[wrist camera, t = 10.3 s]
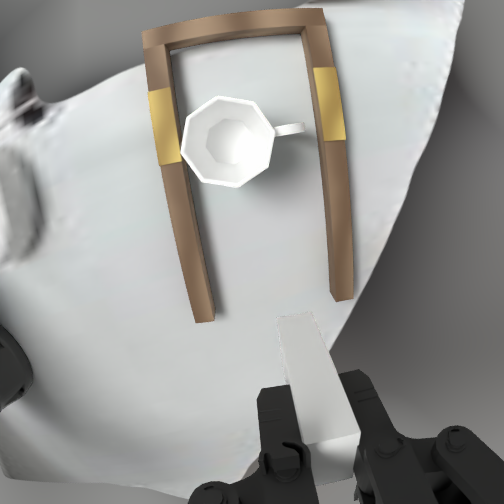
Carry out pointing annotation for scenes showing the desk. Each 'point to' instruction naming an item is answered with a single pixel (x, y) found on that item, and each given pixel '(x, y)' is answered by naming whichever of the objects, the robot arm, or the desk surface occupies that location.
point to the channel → (326, 122)
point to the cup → (230, 141)
